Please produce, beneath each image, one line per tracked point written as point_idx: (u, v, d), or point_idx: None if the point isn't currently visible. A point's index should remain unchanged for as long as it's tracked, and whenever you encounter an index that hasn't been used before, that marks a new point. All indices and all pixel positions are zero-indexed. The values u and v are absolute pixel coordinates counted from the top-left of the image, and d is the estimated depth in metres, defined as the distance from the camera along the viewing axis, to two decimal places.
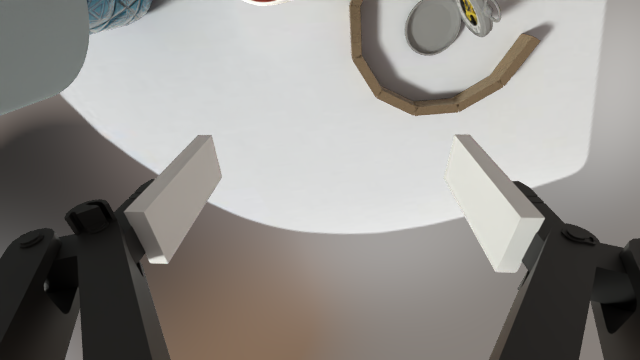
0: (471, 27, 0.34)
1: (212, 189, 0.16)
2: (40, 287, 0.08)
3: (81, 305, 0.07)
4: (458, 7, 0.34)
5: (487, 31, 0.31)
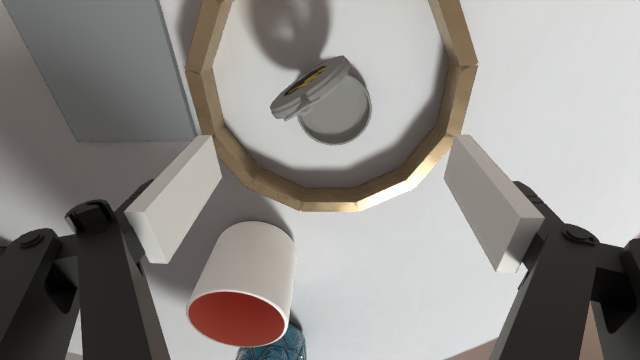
0: None
1: (212, 189, 0.16)
2: (40, 286, 0.08)
3: (81, 305, 0.07)
4: None
5: (339, 77, 0.19)
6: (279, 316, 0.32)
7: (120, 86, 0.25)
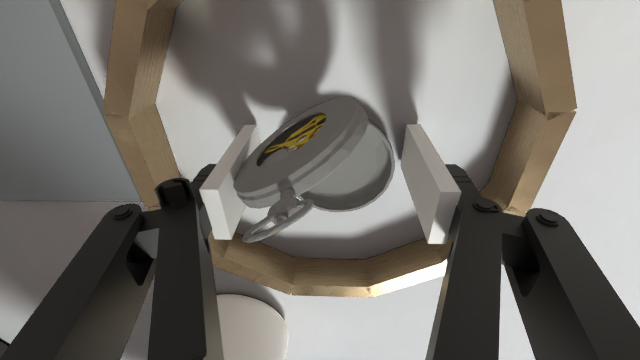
0: None
1: None
2: (122, 258, 0.09)
3: (156, 272, 0.08)
4: (304, 134, 0.15)
5: (349, 147, 0.10)
6: None
7: (22, 130, 0.17)
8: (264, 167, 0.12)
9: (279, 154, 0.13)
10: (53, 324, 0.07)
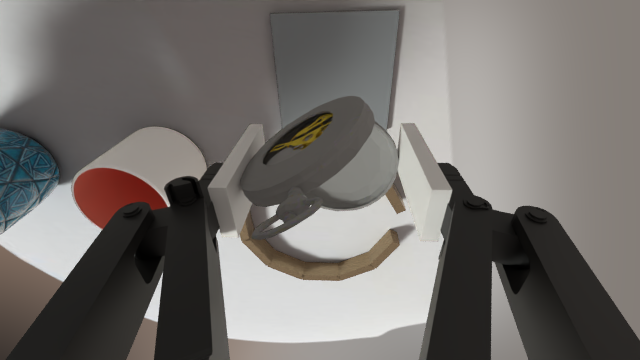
0: None
1: None
2: (131, 256, 0.09)
3: (164, 269, 0.08)
4: None
5: (357, 145, 0.10)
6: None
7: (327, 85, 0.30)
8: (271, 166, 0.12)
9: (285, 153, 0.13)
10: (62, 321, 0.07)
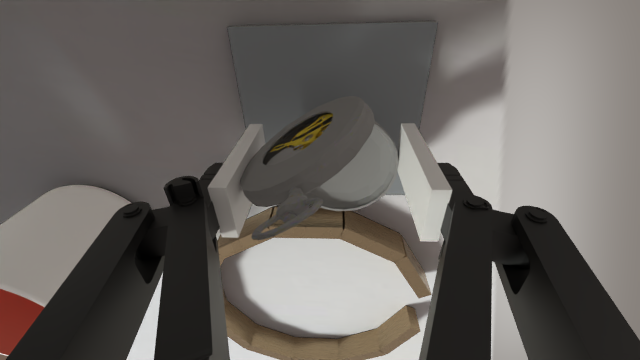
0: None
1: None
2: (131, 256, 0.09)
3: (164, 269, 0.08)
4: (309, 133, 0.15)
5: (357, 146, 0.10)
6: (26, 317, 0.23)
7: None
8: (271, 166, 0.12)
9: (285, 153, 0.13)
10: (62, 321, 0.07)
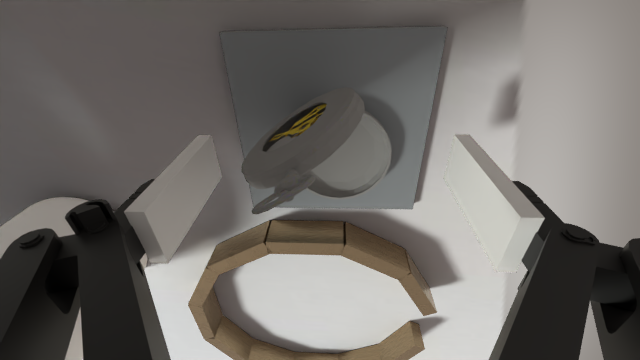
0: None
1: (212, 189, 0.16)
2: (40, 286, 0.08)
3: (81, 305, 0.07)
4: (306, 124, 0.16)
5: (347, 130, 0.11)
6: None
7: None
8: (270, 152, 0.13)
9: (283, 141, 0.14)
10: None
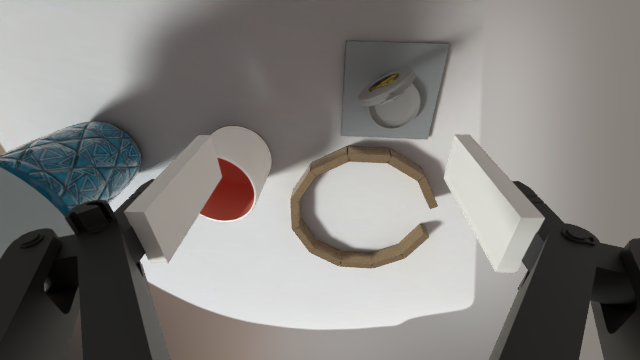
0: None
1: (212, 189, 0.16)
2: (40, 287, 0.08)
3: (81, 305, 0.07)
4: (382, 85, 0.35)
5: (411, 81, 0.30)
6: None
7: None
8: (377, 90, 0.31)
9: (378, 89, 0.32)
10: None
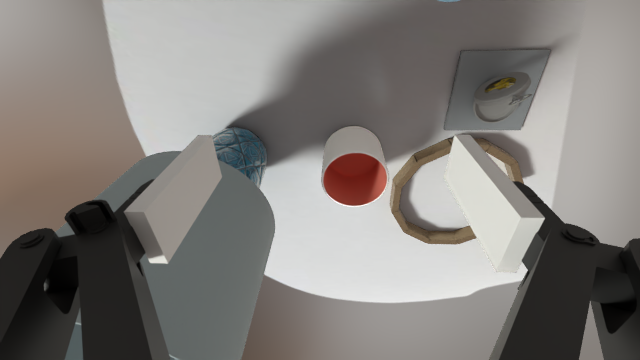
0: (514, 80, 0.40)
1: (212, 189, 0.16)
2: (40, 287, 0.08)
3: (81, 305, 0.07)
4: (491, 87, 0.42)
5: (529, 84, 0.37)
6: (333, 189, 0.47)
7: None
8: (498, 92, 0.38)
9: (495, 90, 0.39)
10: None
